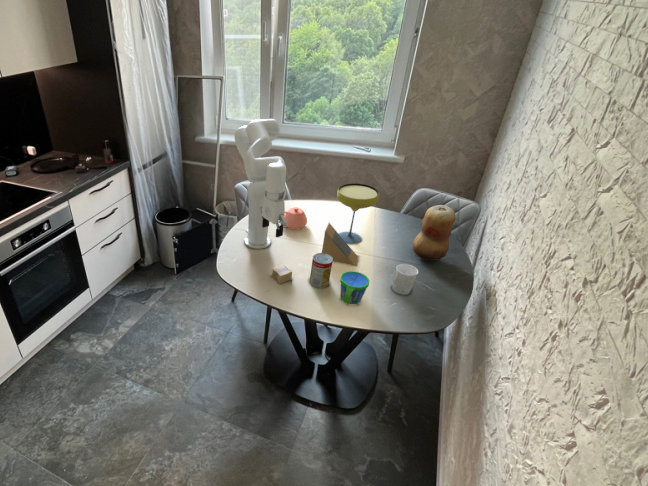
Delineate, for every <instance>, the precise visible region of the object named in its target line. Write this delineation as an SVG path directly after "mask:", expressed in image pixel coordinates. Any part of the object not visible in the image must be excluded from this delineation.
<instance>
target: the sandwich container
mask: <svg viewBox="0 0 648 486" xmlns="http://www.w3.org/2000/svg"><path fill="white" fill-rule="evenodd" d="M339 234H340V233H338V232H337V230H336V229H335V228H334V226H333V225H332V224H331V223H330V222H328V223H327V225H326V228H325V230H324V236H323V240H322V241H323V243H322V248H321V253H325V254H328V255H330V256H331V257H332V258H333V262H334V263H339V264H345V265H350V266H357V262H358V258H359V256H358V255H357V254H356V253H355V251H354V250H353V249H352V248H351V246H350V245H349V243H346V242H345V241H344V240H343V239H342V237H341V236H340V235H339Z"/></svg>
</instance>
